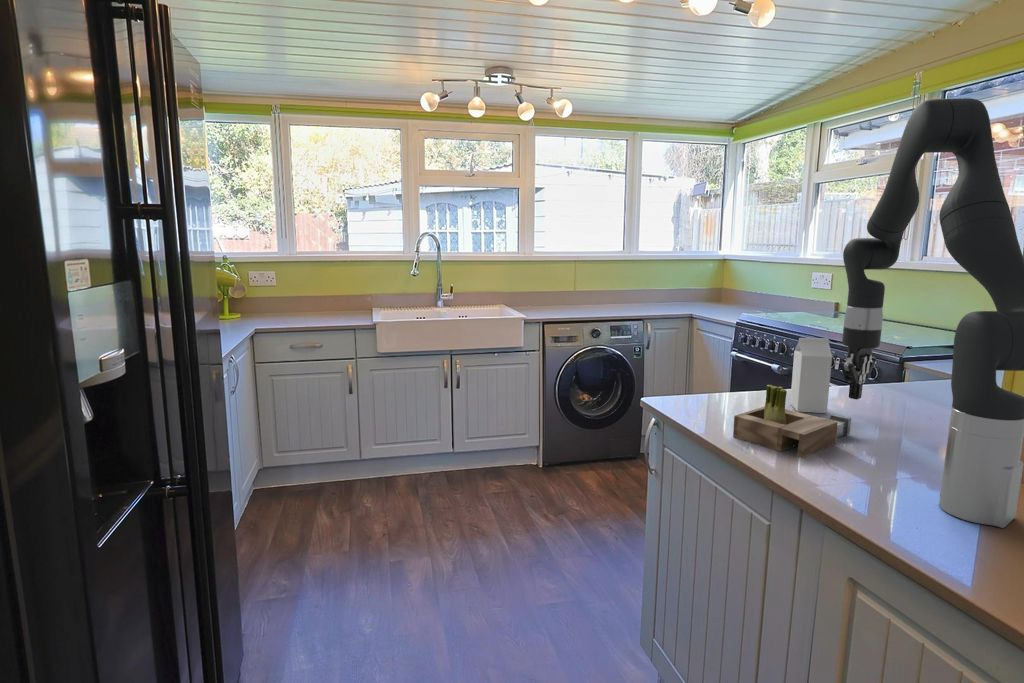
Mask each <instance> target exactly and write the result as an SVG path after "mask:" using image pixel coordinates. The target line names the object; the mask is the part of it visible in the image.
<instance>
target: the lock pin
mask: <svg viewBox="0 0 1024 683" xmlns="http://www.w3.org/2000/svg"><path fill="white" fill-rule="evenodd" d="M829 416H830V418H829V420H832V421H836V422H838V424H837V434H836V439H838V438H841V437H842V436H849V435H850V432H851V422H852V418H851V417H846V416H843V415H838V414H835V413H834V414H830V415H829Z"/></svg>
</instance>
